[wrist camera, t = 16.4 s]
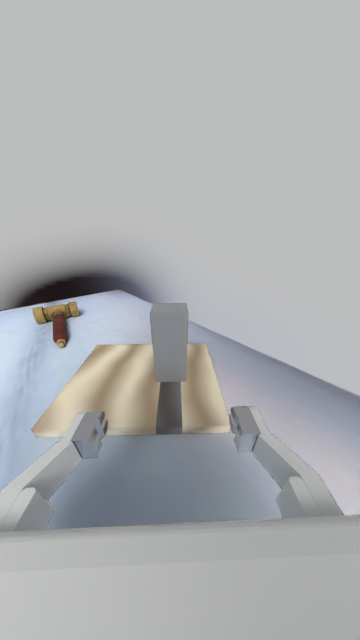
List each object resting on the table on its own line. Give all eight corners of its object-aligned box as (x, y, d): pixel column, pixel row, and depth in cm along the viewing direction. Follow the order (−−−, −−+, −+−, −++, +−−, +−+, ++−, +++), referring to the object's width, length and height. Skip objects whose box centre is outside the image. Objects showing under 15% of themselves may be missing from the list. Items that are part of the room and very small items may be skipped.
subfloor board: (205, 349, 33) (205, 343, 32) (229, 432, 18) (231, 424, 17) (99, 350, 32) (97, 344, 31) (36, 437, 18) (31, 429, 17)
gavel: (86, 330, 34) (24, 345, 28) (90, 346, 36) (34, 364, 31) (74, 299, 48) (32, 305, 43) (78, 312, 51) (39, 320, 45)
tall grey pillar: (184, 363, 26) (186, 302, 22) (186, 381, 23) (188, 313, 18) (158, 364, 26) (153, 302, 21) (155, 382, 23) (149, 313, 18)
